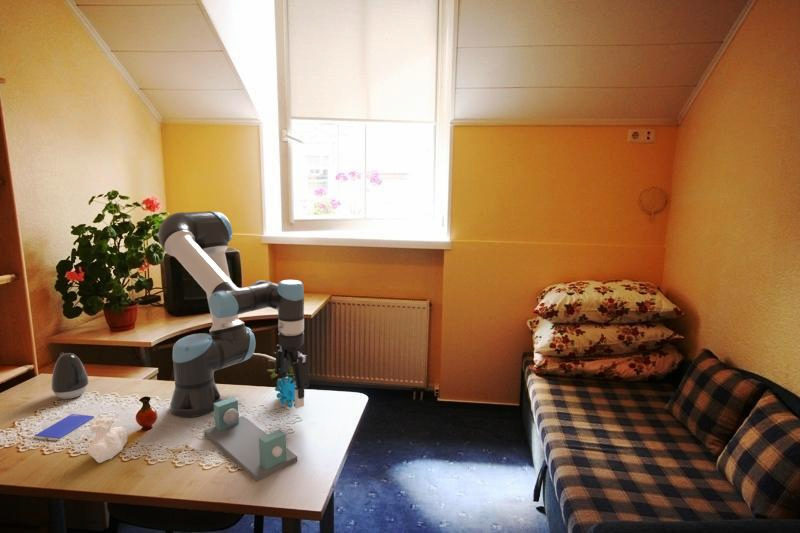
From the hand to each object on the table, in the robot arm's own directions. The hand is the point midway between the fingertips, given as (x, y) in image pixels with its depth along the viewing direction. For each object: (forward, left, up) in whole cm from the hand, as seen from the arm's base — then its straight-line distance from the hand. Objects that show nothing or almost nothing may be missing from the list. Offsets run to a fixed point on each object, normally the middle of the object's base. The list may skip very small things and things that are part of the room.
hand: (291, 401), depth 139 cm
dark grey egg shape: (-67, -44, -7) cm, 81 cm away
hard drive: (-44, -50, -7) cm, 67 cm away
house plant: (-16, +9, -7) cm, 20 cm away
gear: (0, 0, 0) cm, 0 cm away
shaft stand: (+4, -16, -7) cm, 18 cm away
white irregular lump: (-20, -45, -7) cm, 50 cm away
